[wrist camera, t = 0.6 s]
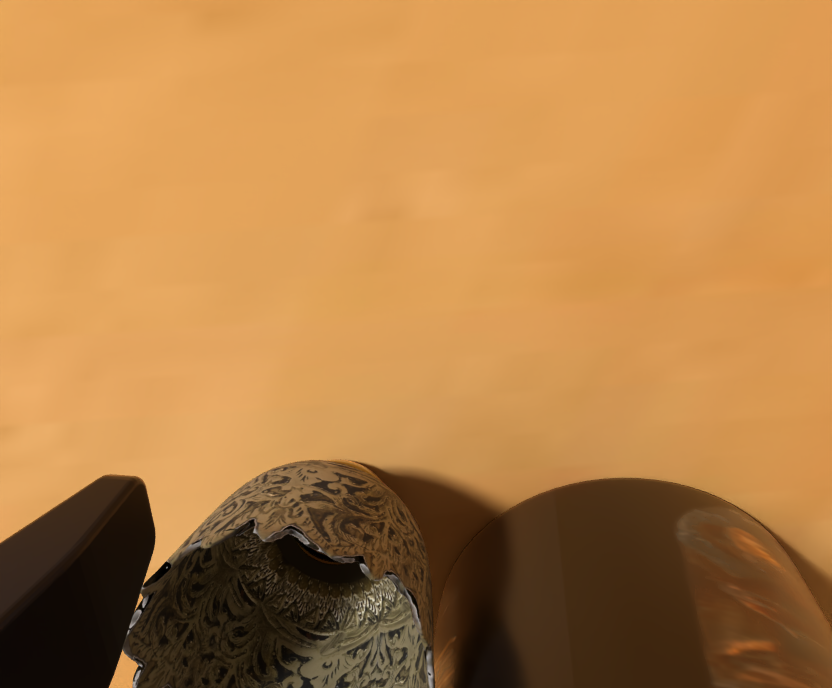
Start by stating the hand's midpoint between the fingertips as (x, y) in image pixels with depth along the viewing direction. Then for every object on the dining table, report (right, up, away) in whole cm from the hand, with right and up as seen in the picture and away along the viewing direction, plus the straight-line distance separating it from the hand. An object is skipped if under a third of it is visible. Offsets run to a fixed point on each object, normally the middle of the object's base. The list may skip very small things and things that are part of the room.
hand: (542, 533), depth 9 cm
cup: (-4, -3, +17) cm, 18 cm away
